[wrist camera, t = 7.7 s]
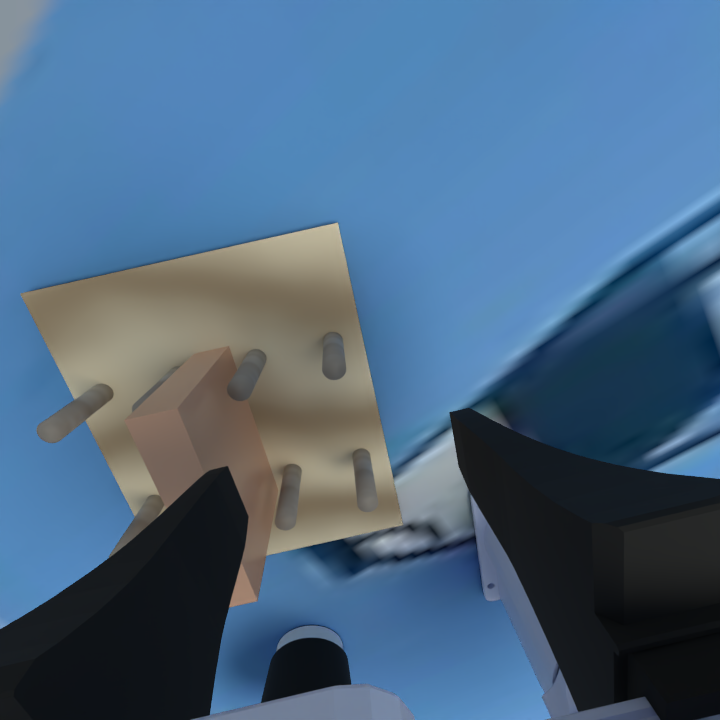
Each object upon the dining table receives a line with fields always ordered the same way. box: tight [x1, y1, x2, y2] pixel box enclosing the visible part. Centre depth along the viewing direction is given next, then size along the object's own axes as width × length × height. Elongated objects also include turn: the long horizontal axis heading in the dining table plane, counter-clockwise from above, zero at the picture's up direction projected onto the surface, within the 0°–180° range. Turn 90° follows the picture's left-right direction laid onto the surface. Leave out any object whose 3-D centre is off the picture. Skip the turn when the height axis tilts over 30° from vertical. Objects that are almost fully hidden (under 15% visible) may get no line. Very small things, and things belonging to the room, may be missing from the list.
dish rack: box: [21, 223, 403, 558], centre depth 19 cm, size 18×15×5 cm
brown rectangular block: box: [124, 346, 279, 607], centre depth 18 cm, size 9×2×7 cm, turn 12°
